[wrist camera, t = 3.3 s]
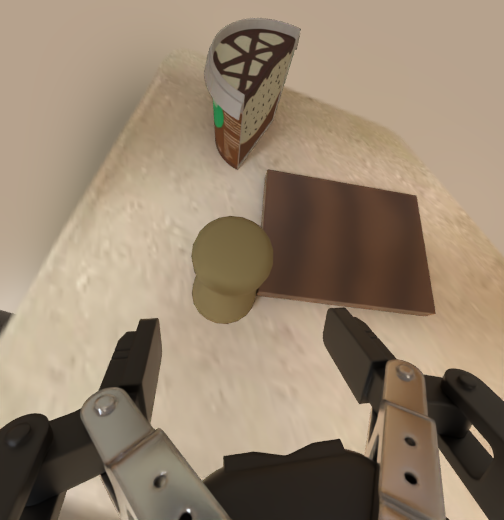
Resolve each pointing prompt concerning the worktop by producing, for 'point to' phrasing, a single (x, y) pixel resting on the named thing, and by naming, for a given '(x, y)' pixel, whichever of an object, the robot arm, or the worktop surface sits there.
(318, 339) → the worktop surface
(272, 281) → the cutting board
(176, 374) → the worktop surface
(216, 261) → the cork
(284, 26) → the food container
